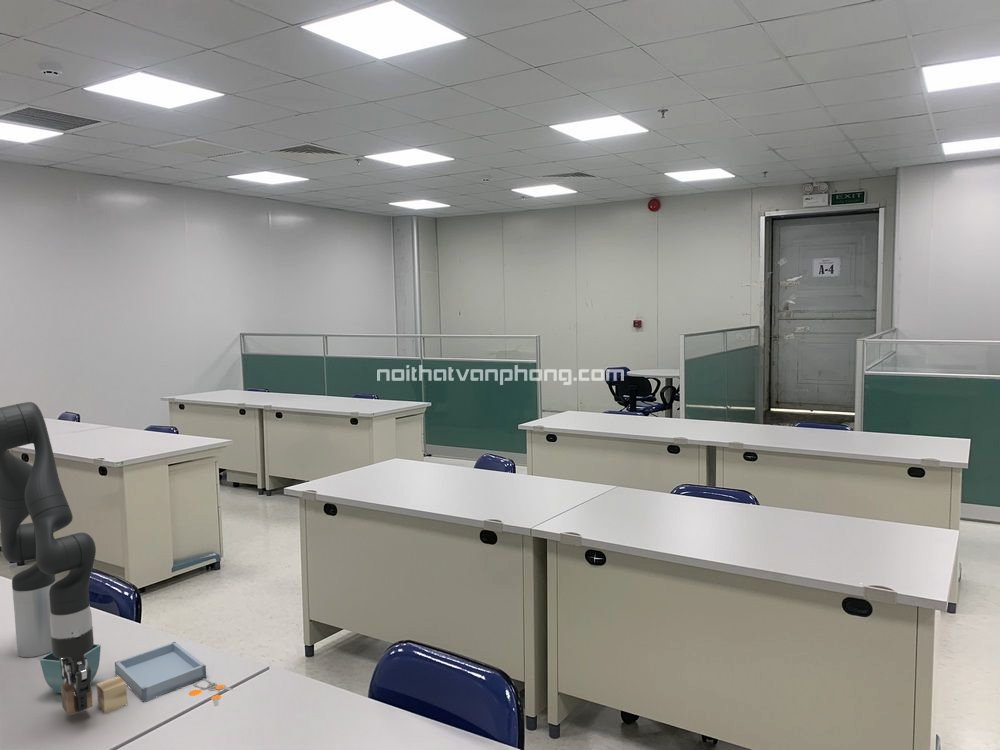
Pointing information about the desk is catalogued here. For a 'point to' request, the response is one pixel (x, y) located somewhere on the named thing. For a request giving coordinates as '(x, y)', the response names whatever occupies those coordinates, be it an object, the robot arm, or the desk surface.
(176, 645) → the tray
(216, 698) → the key chain
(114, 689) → the oak block
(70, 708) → the walnut block
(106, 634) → the desk surface
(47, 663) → the flower pot
